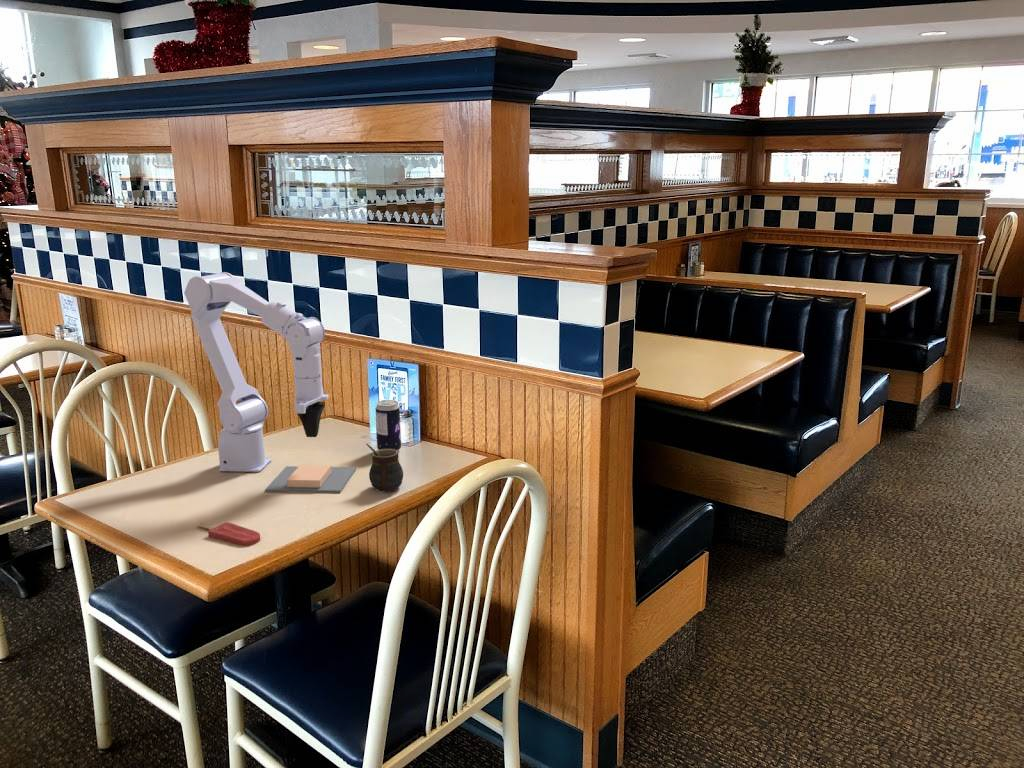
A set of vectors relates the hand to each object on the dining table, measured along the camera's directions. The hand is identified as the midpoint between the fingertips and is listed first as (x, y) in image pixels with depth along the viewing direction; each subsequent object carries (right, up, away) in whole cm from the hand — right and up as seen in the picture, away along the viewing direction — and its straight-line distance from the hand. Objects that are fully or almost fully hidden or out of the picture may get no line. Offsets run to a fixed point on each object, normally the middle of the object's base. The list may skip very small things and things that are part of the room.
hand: (312, 436), depth 178 cm
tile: (0, -7, +3) cm, 8 cm away
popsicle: (-9, -17, -26) cm, 33 cm away
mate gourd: (+17, -11, -4) cm, 21 cm away
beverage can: (+14, -5, +19) cm, 24 cm away
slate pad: (0, -10, 0) cm, 10 cm away
